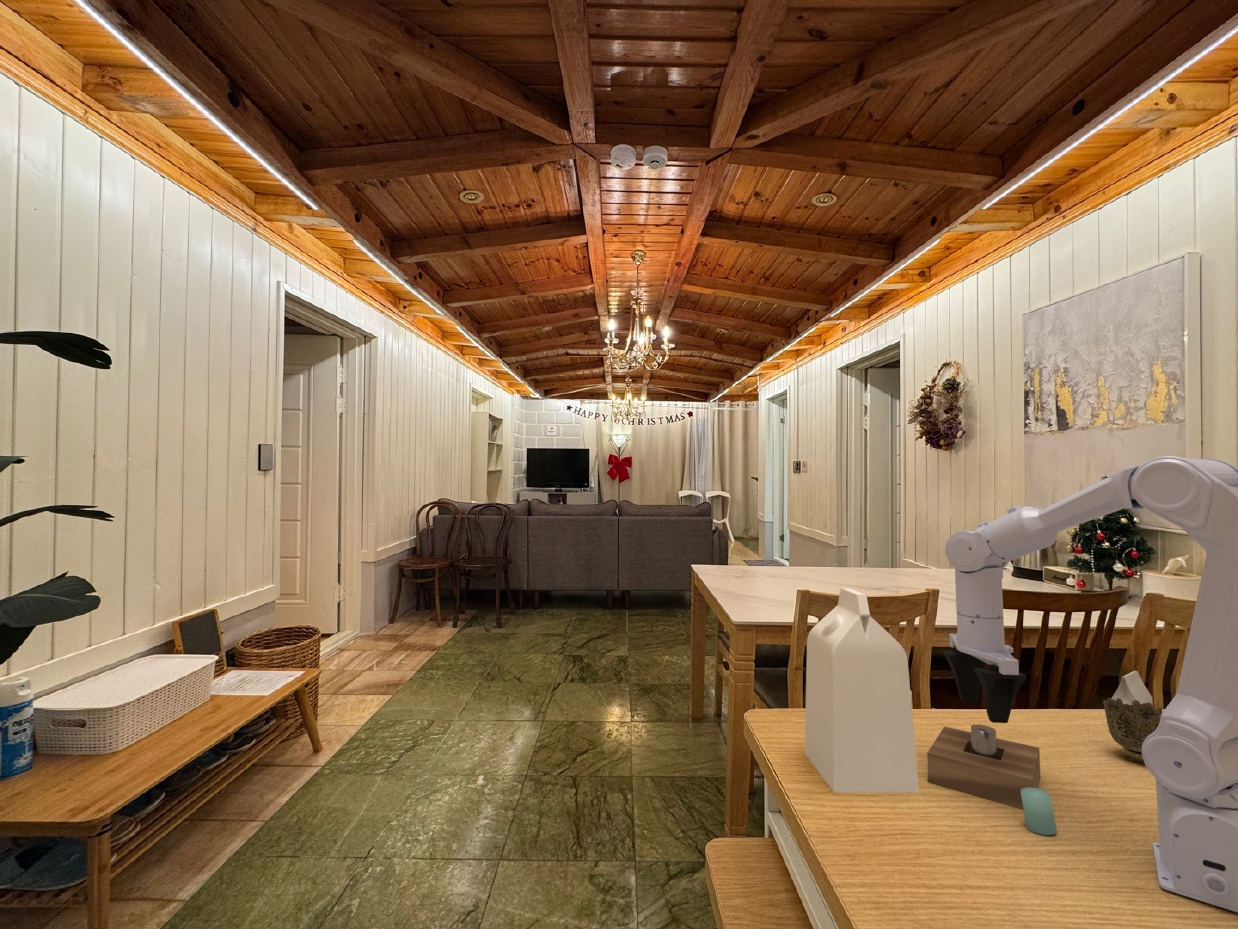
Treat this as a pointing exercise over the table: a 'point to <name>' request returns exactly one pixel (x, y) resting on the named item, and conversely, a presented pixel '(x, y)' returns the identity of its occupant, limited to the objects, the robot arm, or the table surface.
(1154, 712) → the cup
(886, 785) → the milk
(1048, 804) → the short pin
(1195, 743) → the robot arm
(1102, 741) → the table surface
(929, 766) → the hole block
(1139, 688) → the grey wedge block
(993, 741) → the tall pin
